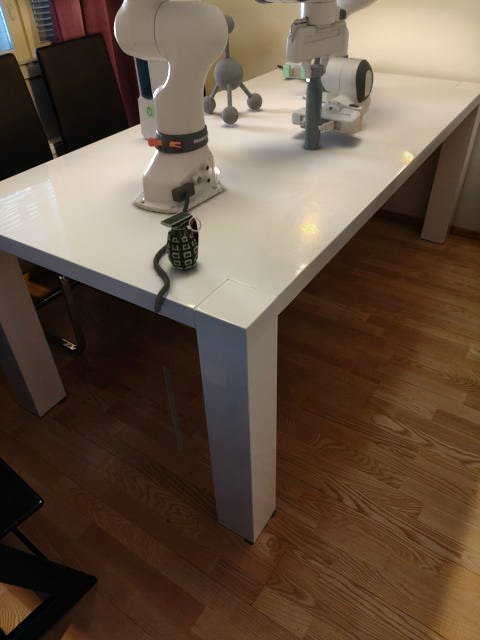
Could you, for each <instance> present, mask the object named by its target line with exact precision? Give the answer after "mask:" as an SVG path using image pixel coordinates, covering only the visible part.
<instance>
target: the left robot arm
mask: <svg viewBox="0 0 480 640" xmlns="http://www.w3.org/2000/svg"><path fill="white" fill-rule="evenodd" d="M254 2H257V3H258V4H262V5H265V4H274V3H278V4H299V3H300V4H299V18H296V19H293V21H292V23H291V25H290V26H289V29H288V30H289V31H288V34H287V40H286V49H285V58H286V60H287V61H286V62H290V63H301V62H302V67H303V69H304V77H305V79H304V80H306V79H310V78H313V71H311V67H310V64H311V60H312V59H315V58H319V57H320V59H321V62H320V64H322V65H324V74H326V67H327V64H328V62H329V59H330V54H333V53H337V52H340V51H342V50H343V49H344V46H345V41H346V29H347V28H348V26H347V20H348V18H349V16H348V10H347V9H344V8H342V7H340V6H338V5H337V0H254ZM113 25H114V26H113V30H114V36H115V39H116V40H115V41H116V42H117V44H118V46H119V48H120V49H121V50H122V52H123V53H125V54H126V55H127V56H131V57H133V58H134V57H136V58H139V59H142V60H148V61H167V62H168V68H169V74H168V78H167V80H166V81H164V82H163V83H162V84H160V85H159V86H158V88H157V89H156V91H155V93H154V96H153V101H154V107H155V114H156V121H157V128H158V129H157V130H156V138H152V137H150V138H149V139H147V146H149V147H151V148H152V147H154V148H155V151H154V153H153V155H152V157H151V159H150V162H149V163H148V165H147V167H146V169H145V172H144V173H143V176H142V192H140V193H139V195H138V196H137V197H135V199H134V205H135V206H137V207H138V208H140V209H142V210H143V209H144V210H147V211H151V212H157V213H164V214H177V213H179V212H181V211H184V212H187V213H188V211H189V210H190V209H193V208H194V207H196V206H198V205H199V204H201V203H203V202H205V201H207V200H208V199H210V198H212V197H214V196H215V195H217V194H219V193H220V192H222V191H223V185H222V184H220V183H219V180H218V175H220V170H219V169H218V168H217V167H216V163H215V156H214V155H213V153H212V152H211V149H210V147H209V145H208V143H209V130H208V126H207V124H206V120H205V119H206V118H205V112H204V94H205V93H204V91H205V84H206V79H207V77H208V74H209V72H210V70H211V68H212V66H213V65H214V63H215V62H216V61H218V59H220V58H221V56H222V55H223V53H225V48H226V45H227V41H228V36H229V34H228V26H227V22H226V19H225V17H224V13H223V12H222V9H220V7H218V5H214V4H210V3H207V2H204V1H199V0H123V2H122V4H121V6H120V8H119V9H118V10H117V13H116V15H115V19H114V24H113ZM166 249H167V243H165V244H164V245H163V246H162V247H161V248H160V249H159V250H157V252H156V253H155V255H154V257H153V259H152V260H153V261H152V262H153V263H152V264H153V267H154V268H155V270H156V271H157V273H158V274H159V275H160V276H161V277H162V279H163V285H162V287H161V288H160V289H159V290H158V293H156V296H155V301H154V313H156V314H159V313H160V312H161V306H162V305H161V303H162V300H163V298H164V295H166V293H167V292H168V290H169V288H170V285H171V284H170V281H171V280H170V277H169V275H168V273H167V272H166V271H165V270H164V269H163V268H162V267H161V265H160V263H159V260H160V258H161V257H162V255H163V254H164V253H166V252H167V250H166ZM161 367H162V373H163V377H164V383H165V389H166V393H167V398H168V403H169V407H170V413H171V417H172V422H173V426H174V431H175V436H176V441H177V447H178V450H179V451H183V450H184V444H183V439H182V434H181V433H182V432H181V429H180V424H179V419H178V418H179V417H178V413H177V409H176V404H175V399H174V398H175V397H174V394H173V387H172V384H171V377H170V371H169V368H168V367H167V366H165V365H163V364H162V365H161Z"/></svg>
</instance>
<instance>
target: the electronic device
mask: <svg viewBox="0 0 480 640" xmlns="http://www.w3.org/2000/svg"><path fill="white" fill-rule="evenodd" d="M133 60H134V61H133V62H134V65H135V72H136V79H137V86H138V90H139V97H138V98H137V103H138V113H139V123H140V129H141V130H140V131H141V135H142V136H143V138H144V139H146V140H148V139H149V138H150V137H152V138H156V130H157V129H158V128H157V121H156V114H155V107H154V101H153V96H154V93H155V91H156V89H157V88H158V86H159V85H160V84H162V83H163V82H164V81H166V80H167V78H168V74H169V64H168V62H167V61H148V60H142V59H139V58H136V57H133Z"/></svg>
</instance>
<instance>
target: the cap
mask: <svg viewBox="0 0 480 640" xmlns="http://www.w3.org/2000/svg"><path fill="white" fill-rule="evenodd" d="M310 67H311V71H313V77H321V76H323V75H324V65H322V64H311V65H310Z"/></svg>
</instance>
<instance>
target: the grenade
mask: <svg viewBox="0 0 480 640" xmlns="http://www.w3.org/2000/svg"><path fill="white" fill-rule="evenodd" d="M198 222H199V226H198ZM159 224H160V225H162V226H164V227H166V228H169V230H168V231H167V236H166V244H167V249H166V254H167V259H168V261H169V263H170V265H171V266H172V267H174V268H176V269H178V270H181V271H186V270H189V269H192V267H194V266H195V265H196V264H197V262H198V261H197V260H198V259H199V243H200V241H199V240H200V233H199V232H200V231H201V228H202V221H201V220H200V219H199V218H198V217H197V216H194V215H193V214H192V213H189V212H188V211H187V212H184V211H181V212H179V213H174V214H172V215H170V216H169V217H166V218H165V219H162V220H160V222H159ZM198 227H199V228H198Z"/></svg>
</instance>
